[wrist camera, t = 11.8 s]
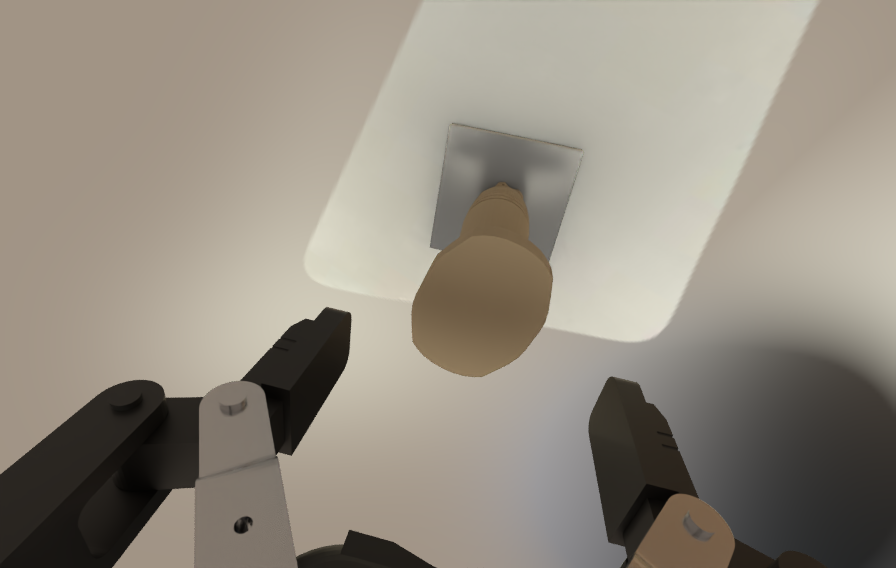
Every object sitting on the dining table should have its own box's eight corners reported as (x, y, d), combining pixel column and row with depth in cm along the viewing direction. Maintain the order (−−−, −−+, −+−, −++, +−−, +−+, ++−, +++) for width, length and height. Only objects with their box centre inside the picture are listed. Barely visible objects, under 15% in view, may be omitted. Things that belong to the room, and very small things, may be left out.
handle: (451, 225, 30) (391, 342, 17) (493, 145, 27) (459, 212, 14) (508, 255, 30) (492, 393, 17) (556, 179, 27) (580, 277, 14)
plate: (452, 123, 28) (449, 124, 27) (581, 149, 27) (583, 152, 26) (432, 242, 32) (429, 247, 31) (544, 267, 31) (545, 273, 30)
